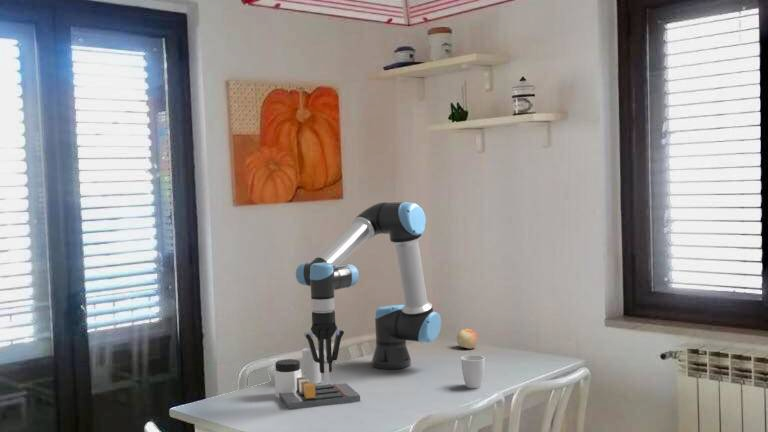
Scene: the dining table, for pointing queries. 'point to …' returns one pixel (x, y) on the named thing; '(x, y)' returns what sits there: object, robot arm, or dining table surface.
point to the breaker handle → (309, 390)
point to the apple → (467, 338)
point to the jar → (286, 376)
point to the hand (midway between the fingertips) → (326, 382)
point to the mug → (311, 366)
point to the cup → (473, 370)
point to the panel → (319, 395)
